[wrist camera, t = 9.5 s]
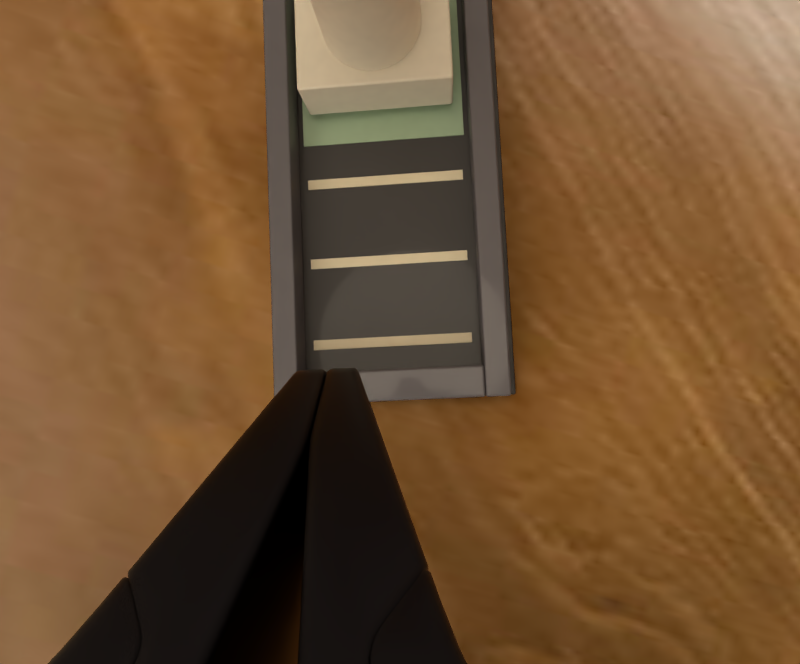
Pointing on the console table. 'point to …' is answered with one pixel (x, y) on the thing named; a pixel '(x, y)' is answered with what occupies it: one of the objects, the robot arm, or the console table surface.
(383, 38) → the score marker
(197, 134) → the console table surface
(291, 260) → the tray
